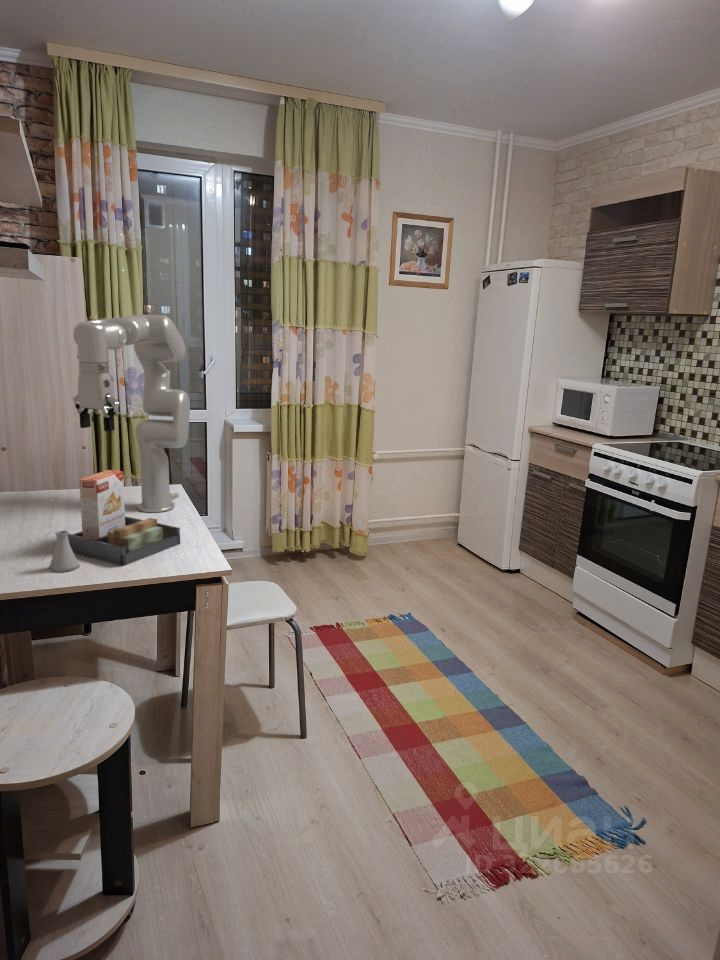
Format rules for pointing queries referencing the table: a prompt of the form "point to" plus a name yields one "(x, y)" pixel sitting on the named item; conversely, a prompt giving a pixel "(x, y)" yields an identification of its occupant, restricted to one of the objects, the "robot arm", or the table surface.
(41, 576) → the table surface
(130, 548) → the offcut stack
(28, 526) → the table surface
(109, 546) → the tray
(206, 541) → the table surface
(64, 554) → the flask
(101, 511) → the cracker box
